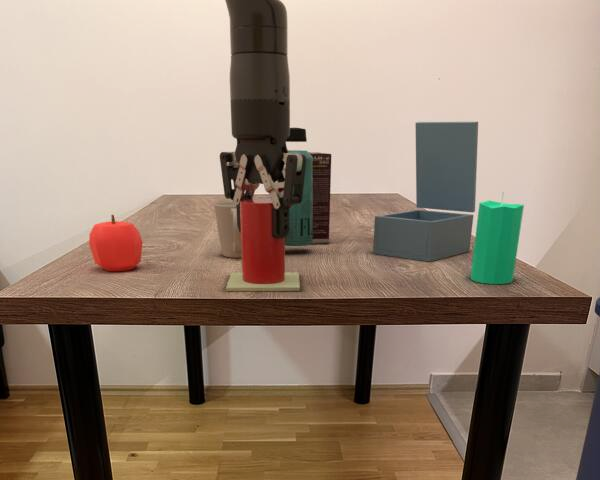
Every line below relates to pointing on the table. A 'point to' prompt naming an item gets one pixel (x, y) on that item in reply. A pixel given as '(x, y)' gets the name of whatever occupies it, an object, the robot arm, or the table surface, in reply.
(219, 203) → the cup
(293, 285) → the mat
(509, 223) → the candle
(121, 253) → the apple
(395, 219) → the chest
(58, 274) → the table surface
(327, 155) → the supplement box
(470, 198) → the lid
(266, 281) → the red cylinder
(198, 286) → the table surface
